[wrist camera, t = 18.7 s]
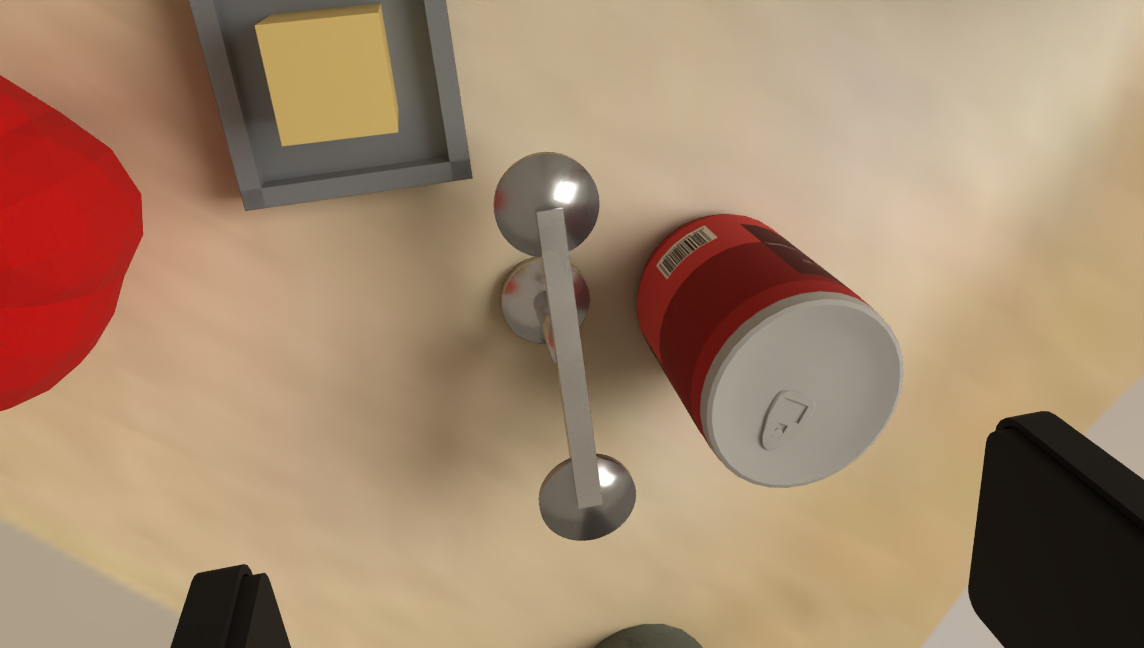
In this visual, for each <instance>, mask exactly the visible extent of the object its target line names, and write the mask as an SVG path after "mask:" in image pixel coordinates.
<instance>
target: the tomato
mask: <svg viewBox="0 0 1144 648" xmlns="http://www.w3.org/2000/svg"><path fill="white" fill-rule="evenodd" d="M142 236H143V221H142V200H141V193H140V192H139V190H138V189H137V187H136V186H135V184H134V183H133V181H132V180H131V178H130V177H129V175H128V174H127V172H126V171H125V169H124V168H123V166H122V165H121V163H120V162H119V160H118V159H117V157H116V156H115V154H114V153H113V151H112V150H111V148H109V147H108V146H106V145H105V144H104V143H102V142H101V141H99V140H98V139H97V138H95V137H94V136H92V135H91V134H90V133H88V132H87V131H85V130H84V129H83V128H81V127H80V126H78V125H77V124H76V123H74V122H73V121H71V120H70V119H69V118H67V117H66V116H64V115H63V114H62V113H60V112H58V111H57V110H55V109H54V108H52V107H51V106H49V105H47V104H46V103H44V102H42V101H41V100H39V99H38V98H36V97H34V96H33V95H31V94H30V93H28V92H26V91H25V90H23V89H22V88H20V87H18V86H17V85H15V84H13V83H12V82H10V81H9V80H7V79H5V78H4V77H2V76H1V75H0V411H3V410H6V409H9V408H12V407H14V406H16V405H18V404H21V403H23V402H25V401H27V400H29V399H31V398H33V397H35V396H38V395H40V394H42V393H44V392H46V391H48V390H50V389H51V388H52V387H53V386H55V385H56V384H57V383H58V382H59V381H60V380H61V379H63V378H64V377H65V376H66V375H67V374H68V373H70V372H71V371H72V370H73V369H74V368H75V367H77V366H78V365H79V364H80V363H81V362H82V361H83V359H84V358H85V357H86V356H87V355H88V353H89V352H90V351H91V350H92V349H93V347H94V346H95V345H96V343H97V342H98V340H99V338H100V337H101V335H102V333H103V331H104V330H105V328H106V326H107V325H108V323H109V321H110V320H111V318H112V316H113V315H114V312H115V309H116V305H117V301H118V298H119V294H120V290H121V287H122V283H123V279H124V276H125V274H126V271H127V269H128V267H129V265H130V263H131V260H132V258H133V256H134V254H135V251H136V249H137V247H138V245H139V243H140V240H141V238H142Z"/></svg>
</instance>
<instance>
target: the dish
mask: <svg viewBox="0 0 1144 648" xmlns="http://www.w3.org/2000/svg"><path fill="white" fill-rule="evenodd" d="M189 3H190V7H191V10H192V14H193V18H194V21H195V25H196V29H197V33H198V36H199V40H200V44H201V48H202V51H203V55H204V59H205V62H206V66H207V70H208V74H209V77H210V81H211V85H212V88H213V92H214V96H215V100H216V103H217V107H218V111H219V115H220V118H221V122H222V126H223V129H224V133H225V137H226V141H227V144H228V148H229V152H230V155H231V159H232V163H233V167H234V170H235V174H236V178H237V182H238V185H239V189H240V193H241V196H242V200H243V204H244V208H245V211H249V210H256V209H263V208H270V207H277V206H284V205H291V204H298V203H305V202H312V201H319V200H326V199H333V198H340V197H347V196H353V195H360V194H367V193H374V192H381V191H388V190H395V189H402V188H409V187H416V186H423V185H430V184H437V183H444V182H451V181H458V180H465V179H472V171H471V165H470V158H469V151H468V145H467V138H466V131H465V125H464V118H463V111H462V105H461V98H460V91H459V85H458V78H457V71H456V65H455V58H454V52H453V45H452V38H451V32H450V25H449V18H448V12H447V5H446V0H189ZM376 3H381V8H382V14H383V20H384V26H385V32H386V38H387V44H388V50H389V56H390V62H391V68H392V74H393V80H394V86H395V92H396V98H397V104H398V132H397V133H389V134H380V135H372V136H364V137H356V138H347V139H339V140H331V141H323V142H314V143H306V144H298V145H290V146H282V144H281V140H280V135H279V131H278V126H277V122H276V118H275V113H274V109H273V104H272V100H271V96H270V91H269V87H268V82H267V78H266V73H265V69H264V65H263V60H262V56H261V51H260V47H259V43H258V38H257V34H256V29H255V25H256V24H258V23H259V22H261V21H262V20H264V19H266V18H267V17H269V16H270V15H272V14H278V13H287V12H297V11H307V10H317V9H327V8H337V7H346V6H356V5H366V4H376Z"/></svg>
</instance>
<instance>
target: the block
mask: <svg viewBox="0 0 1144 648" xmlns="http://www.w3.org/2000/svg"><path fill="white" fill-rule="evenodd" d="M255 29H256V34H257V38H258V43H259V47H260V51H261V56H262V60H263V65H264V69H265V73H266V78H267V82H268V87H269V91H270V96H271V100H272V104H273V109H274V113H275V118H276V122H277V126H278V131H279V135H280V140H281V144H282V146H290V145H298V144H306V143H314V142H323V141H331V140H339V139H347V138H356V137H364V136H372V135H380V134H389V133H397V132H398V104H397V98H396V92H395V86H394V80H393V74H392V68H391V62H390V56H389V50H388V44H387V38H386V32H385V26H384V20H383V14H382V8H381V3H376V4H366V5H356V6H346V7H337V8H327V9H317V10H307V11H297V12H287V13H278V14H272V15H270V16H269V17H267V18H266V19H264V20H262V21H261V22H259V23H258V24H256V25H255Z"/></svg>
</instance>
